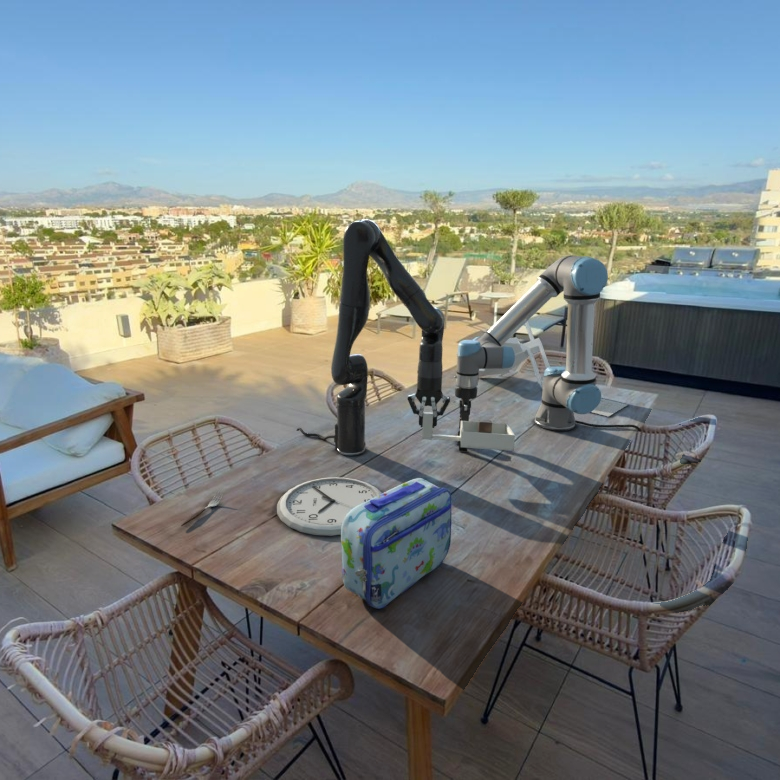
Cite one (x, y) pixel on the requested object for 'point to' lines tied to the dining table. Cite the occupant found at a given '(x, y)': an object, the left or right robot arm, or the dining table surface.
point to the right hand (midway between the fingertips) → (462, 443)
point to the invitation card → (608, 407)
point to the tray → (473, 435)
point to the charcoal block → (458, 435)
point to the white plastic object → (522, 355)
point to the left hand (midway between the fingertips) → (427, 426)
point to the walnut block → (484, 426)
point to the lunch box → (395, 540)
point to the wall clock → (323, 504)
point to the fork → (211, 504)
